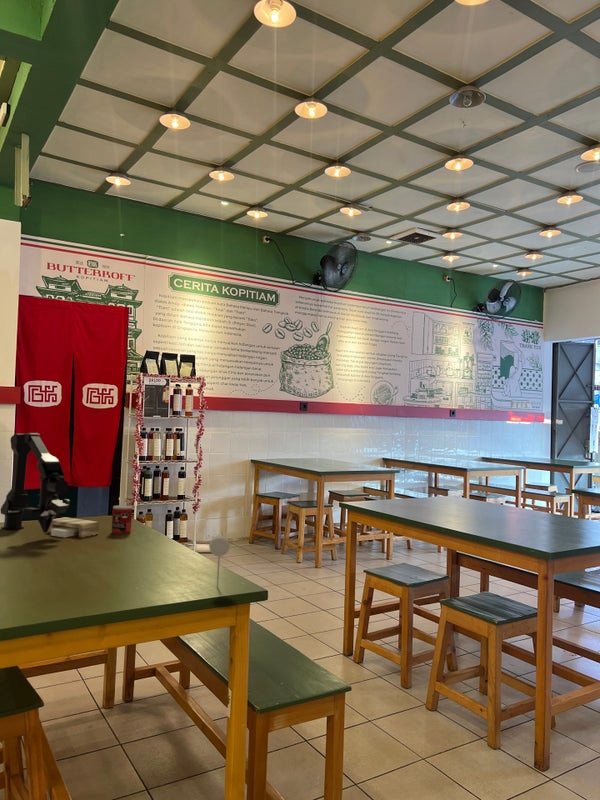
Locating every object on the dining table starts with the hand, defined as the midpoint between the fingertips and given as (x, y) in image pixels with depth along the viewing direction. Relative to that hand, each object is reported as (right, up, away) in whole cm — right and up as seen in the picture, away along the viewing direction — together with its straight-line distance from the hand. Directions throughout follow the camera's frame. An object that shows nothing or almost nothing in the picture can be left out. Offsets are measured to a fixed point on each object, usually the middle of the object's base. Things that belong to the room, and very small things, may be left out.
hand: (45, 532), depth 233 cm
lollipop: (+75, -4, -57) cm, 94 cm away
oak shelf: (+6, -3, +13) cm, 15 cm away
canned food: (+24, -5, +19) cm, 31 cm away
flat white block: (+5, -3, +11) cm, 12 cm away
